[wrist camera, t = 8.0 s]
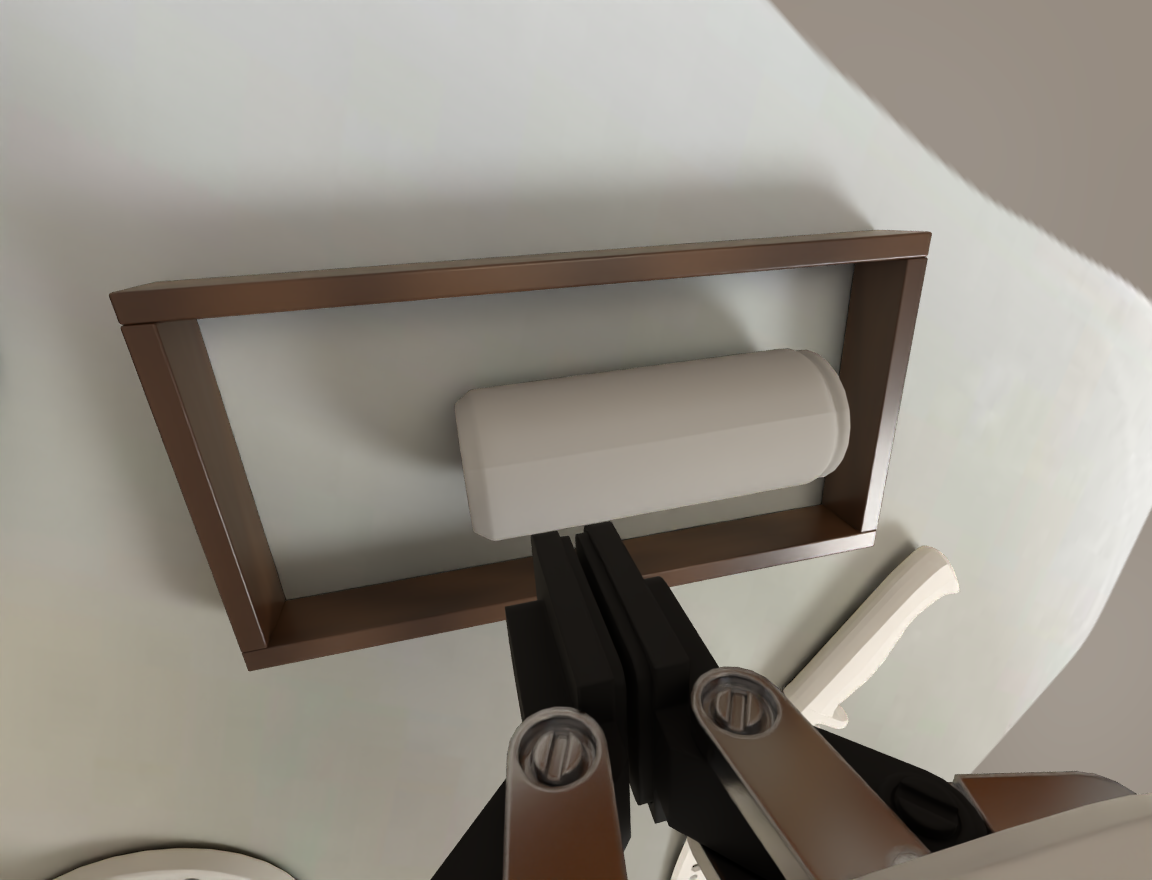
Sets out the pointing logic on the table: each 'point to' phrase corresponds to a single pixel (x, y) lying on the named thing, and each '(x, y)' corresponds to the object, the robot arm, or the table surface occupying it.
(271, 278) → the walnut frame
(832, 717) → the knife
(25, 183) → the table surface
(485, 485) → the beverage can
